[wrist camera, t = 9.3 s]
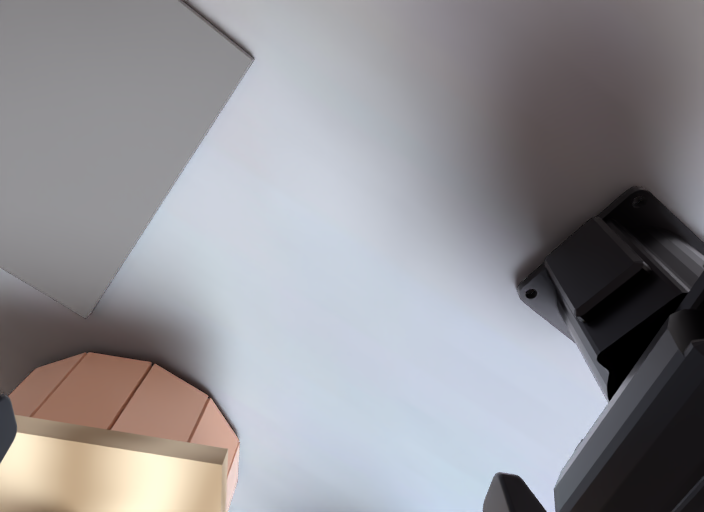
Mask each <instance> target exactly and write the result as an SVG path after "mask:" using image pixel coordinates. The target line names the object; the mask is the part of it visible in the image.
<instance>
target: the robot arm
mask: <svg viewBox="0 0 704 512" xmlns="http://www.w3.org/2000/svg"><path fill="white" fill-rule="evenodd" d="M638 196H642V198H641V200H640V202H639V203H637V204H632V202H633V200H634V199H635V198H636V197H638ZM529 289H534V290H535V291H534V292H533V293H531V294H525V293H526V291H527V290H529ZM517 292H518V295H519V297H520V299H521V300H522V301H523V302H524V303H525V304H526V305H528V306H529V307H530V308H531V309H533V310H534V311H535V312H536V313H538V314H539V315H540V316H542V317H543V318H544V319H545V320H547V321H548V322H549V323H550V324H552V325H553V326H554V327H555V328H557V329H558V330H559V331H560V332H562V333H563V334H564V335H566V336H567V337H568V338H569V339H571V340H572V341H573V342H574V343H576V345H577V346H578V348H579V350H580V352H581V354H582V356H583V357H584V359H585V361H586V363H587V365H588V367H589V368H590V370H591V372H592V374H593V376H594V378H595V379H596V381H597V383H598V385H599V387H600V389H601V390H602V392H603V394H604V396H605V398H606V400H607V401H608V405H607V406H606V407H605V409H604V410H603V412H602V413H601V415H600V416H599V417H598V419H597V420H596V422H595V423H594V425H593V426H592V428H591V429H590V430H589V432H588V433H587V435H586V436H585V438H584V439H582V440H581V442H580V443H579V444H578V446H577V447H576V449H575V451H574V453H573V455H572V456H571V458H570V459H569V461H568V462H567V463H566V465H565V466H564V468H563V469H562V471H561V473H560V475H559V478H558V480H557V483H556V485H555V488H554V498H555V511H556V512H704V243H703V242H702V241H701V240H700V239H699V238H698V237H697V236H696V235H695V234H694V233H693V232H692V231H691V230H689V229H688V228H687V227H686V226H685V225H684V224H683V223H682V222H681V221H680V220H679V219H678V218H677V217H676V216H675V215H674V214H673V213H671V212H670V211H669V210H668V209H667V208H666V207H665V206H664V205H663V204H662V203H661V202H660V201H659V200H658V199H657V198H656V197H655V196H653V195H652V194H651V193H650V192H649V191H647V190H646V189H645V188H643V187H638V186H636V187H632V188H630V189H628V190H627V191H626V192H624V193H623V194H622V195H621V196H620V197H619V198H618V199H616V200H615V201H614V202H613V203H612V204H611V205H610V206H608V207H607V208H606V209H605V210H604V211H603V212H602V213H600V214H599V215H598V216H597V217H596V218H591V219H590V220H589V221H587V222H586V223H585V224H584V225H583V226H582V227H581V228H579V229H578V230H577V231H576V232H575V233H574V234H573V235H571V236H570V237H569V238H568V239H567V240H566V241H565V242H563V243H562V244H561V245H560V246H559V247H558V248H557V249H555V250H554V251H553V252H552V253H551V254H550V255H549V256H547V257H546V259H545V262H544V263H543V264H542V265H541V266H540V267H538V268H537V269H536V270H535V271H534V272H533V273H532V274H530V275H529V276H528V277H527V278H526V279H525V280H524V281H522V282H521V283H520V285H519V286H518V289H517ZM16 434H17V423H16V419H15V415H14V411H13V407H12V403H11V400H10V398H9V397H8V396H6V395H3V394H0V463H1V462H2V460H3V458H4V457H5V455H6V453H7V452H8V450H9V448H10V446H11V445H12V443H13V441H14V439H15V437H16ZM483 512H546V510H545V509H544V508H543V506H542V505H541V504H540V502H539V501H538V500H537V498H536V497H535V496H534V494H533V493H532V492H531V490H530V489H529V488H528V486H527V485H526V484H525V482H524V481H523V480H522V478H520V477H519V476H518V475H514V474H508V473H502V472H498V473H496V474H495V476H494V477H493V480H492V482H491V485H490V487H489V490H488V492H487V495H486V497H485V500H484V504H483Z"/></svg>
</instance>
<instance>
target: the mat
mask: <svg viewBox="0 0 704 512" xmlns="http://www.w3.org/2000/svg"><path fill="white" fill-rule="evenodd" d="M253 61H254V58H253V57H251V56H250V55H249V54H248V53H246V52H245V51H244V50H243V49H242V48H240V47H239V46H238V45H237V44H235V43H234V42H233V41H232V40H230V39H229V38H228V37H227V36H225V35H224V34H223V33H222V32H220V31H219V30H218V29H217V28H216V27H214V26H213V25H212V24H211V23H209V22H208V21H207V20H206V19H204V18H203V17H202V16H201V15H199V14H198V13H197V12H196V11H194V10H193V9H192V8H191V7H190V6H188V5H187V4H186V3H185V2H183V1H182V0H0V268H2V269H3V270H5V271H7V272H8V273H10V274H12V275H13V276H15V277H17V278H18V279H20V280H22V281H23V282H25V283H27V284H28V285H30V286H32V287H33V288H35V289H37V290H38V291H40V292H42V293H43V294H45V295H47V296H48V297H50V298H52V299H53V300H55V301H57V302H58V303H60V304H62V305H63V306H65V307H67V308H68V309H70V310H72V311H73V312H75V313H77V314H78V315H80V316H82V317H83V318H85V319H86V318H87V317H88V316H89V315H90V314H91V313H92V311H93V310H94V308H95V307H96V305H97V303H98V302H99V300H100V299H101V297H102V296H103V294H104V293H105V291H106V289H107V288H108V286H109V285H110V283H111V282H112V280H113V279H114V277H115V275H116V274H117V272H118V271H119V269H120V268H121V266H122V265H123V263H124V261H125V260H126V258H127V257H128V255H129V254H130V252H131V251H132V249H133V247H134V246H135V244H136V243H137V241H138V240H139V238H140V237H141V235H142V234H143V232H144V230H145V229H146V227H147V226H148V224H149V223H150V221H151V220H152V218H153V216H154V215H155V213H156V212H157V210H158V209H159V207H160V206H161V204H162V202H163V201H164V199H165V198H166V196H167V195H168V193H169V192H170V190H171V188H172V187H173V185H174V184H175V182H176V181H177V179H178V178H179V176H180V174H181V173H182V171H183V170H184V168H185V167H186V165H187V164H188V162H189V160H190V159H191V157H192V156H193V154H194V153H195V151H196V150H197V148H198V146H199V145H200V143H201V142H202V140H203V139H204V137H205V136H206V134H207V133H208V131H209V129H210V128H211V126H212V125H213V123H214V122H215V120H216V119H217V117H218V115H219V114H220V112H221V111H222V109H223V108H224V106H225V105H226V103H227V101H228V100H229V98H230V97H231V95H232V94H233V92H234V91H235V89H236V87H237V86H238V84H239V83H240V81H241V80H242V78H243V77H244V75H245V73H246V72H247V70H248V69H249V67H250V66H251V64H252V63H253Z"/></svg>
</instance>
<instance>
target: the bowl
mask: <svg viewBox="0 0 704 512" xmlns="http://www.w3.org/2000/svg"><path fill="white" fill-rule="evenodd" d="M8 397H9V398H10V400H11V403H12V407H13V411H14V415H20V416H26V417H32V418H38V419H45V420H51V421H57V422H63V423H70V424H76V425H82V426H88V427H95V428H101V429H107V430H113V431H120V432H126V433H132V434H139V435H145V436H151V437H157V438H164V439H170V440H176V441H182V442H189V443H195V444H201V445H207V446H214V447H220V448H226V449H228V466H227V492H226V512H228V510H229V507H230V503H231V500H232V497H233V494H234V491H235V488H236V485H237V482H238V466H239V448H240V442H239V439H238V438H237V436H236V435H235V433H234V432H233V430H232V429H231V427H230V426H229V424H228V423H227V421H226V420H225V418H224V417H223V415H222V414H221V412H220V411H219V409H218V408H217V406H216V405H215V403H214V402H213V400H212V399H211V398H208V395H207V394H205V393H203V392H202V391H200V390H198V389H197V388H195V387H193V386H192V385H190V384H188V383H187V382H185V381H183V380H182V379H180V378H178V377H177V376H175V375H173V374H172V373H170V372H168V371H167V370H165V369H163V368H162V367H160V366H158V365H157V364H154V365H153V366H152V362H147V361H141V360H135V359H129V358H123V357H116V356H110V355H104V354H98V353H91V352H89V353H88V354H87V353H86V352H85V353H82V354H79V355H76V356H72V357H69V358H66V359H63V360H60V361H57V362H54V363H50V364H47V365H44V366H41V367H38V368H36V369H34V370H33V371H32V372H31V373H30V374H29V375H28V376H27V377H26V378H25V380H24V381H23V382H22V383H21V384H20V385H19V386H18V387H17V388H16V389H15V390H14V391H13V392H12V393H11V394H10V395H9V396H8ZM207 398H208V399H207Z"/></svg>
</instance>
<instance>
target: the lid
mask: <svg viewBox="0 0 704 512" xmlns="http://www.w3.org/2000/svg"><path fill="white" fill-rule="evenodd" d="M15 419H16V423H17V434H16V437H15V439H14V441H13V443H12V445H11V446H10V448H9V450H8V452H7V453H6V455H5V457H4V458H3V460H2V462H1V463H0V512H226V492H227V466H228V449H226V448H220V447H214V446H207V445H201V444H195V443H189V442H182V441H176V440H170V439H164V438H157V437H151V436H145V435H139V434H132V433H126V432H120V431H113V430H107V429H101V428H95V427H88V426H82V425H76V424H70V423H63V422H57V421H51V420H45V419H38V418H32V417H26V416H20V415H15Z"/></svg>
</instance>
